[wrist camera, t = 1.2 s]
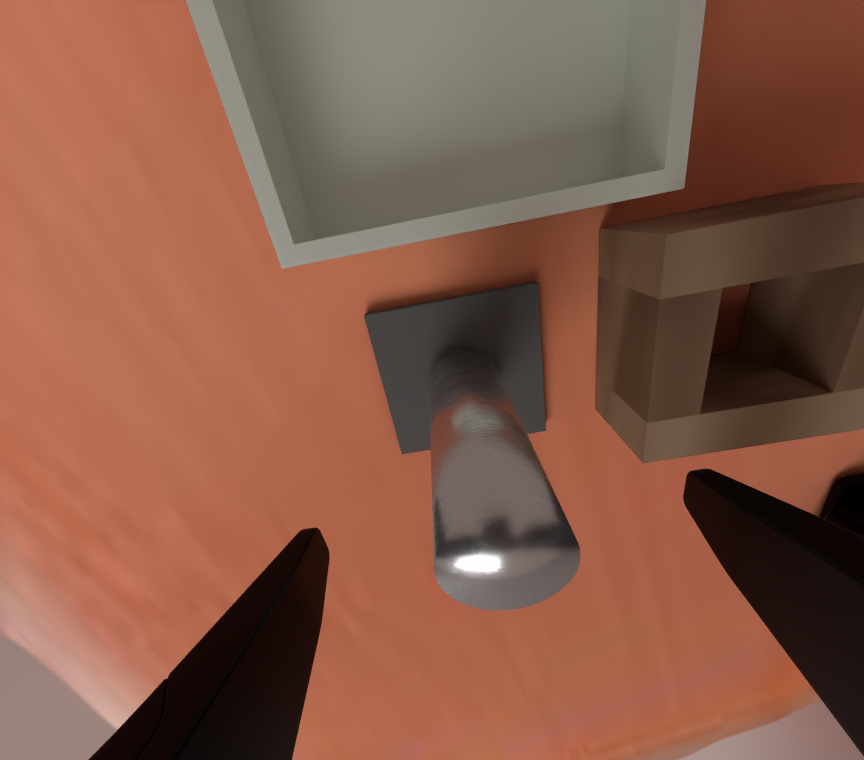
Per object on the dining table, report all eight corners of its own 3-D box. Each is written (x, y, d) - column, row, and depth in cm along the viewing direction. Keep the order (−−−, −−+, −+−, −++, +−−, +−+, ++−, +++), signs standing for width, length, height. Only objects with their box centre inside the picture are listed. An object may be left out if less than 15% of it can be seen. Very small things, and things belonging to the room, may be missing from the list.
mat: (535, 281, 14) (538, 283, 14) (543, 426, 17) (545, 430, 17) (365, 313, 14) (364, 316, 14) (402, 449, 17) (401, 454, 17)
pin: (492, 340, 15) (580, 501, 6) (499, 401, 16) (580, 600, 8) (422, 352, 15) (421, 525, 7) (435, 412, 16) (446, 618, 8)
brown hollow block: (822, 185, 13) (980, 174, 9) (770, 379, 16) (869, 428, 12) (599, 228, 13) (666, 234, 10) (595, 408, 17) (643, 463, 13)
